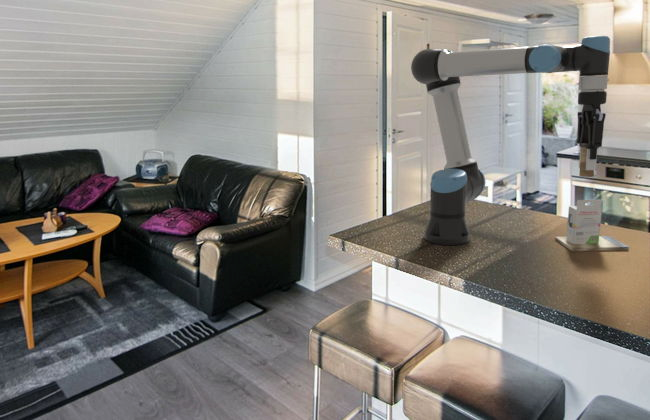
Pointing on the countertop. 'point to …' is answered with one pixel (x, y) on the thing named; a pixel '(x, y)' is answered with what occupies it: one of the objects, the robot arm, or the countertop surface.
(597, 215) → the ink box
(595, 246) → the plywood panel
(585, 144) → the grey and tan cylinder
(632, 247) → the countertop surface
